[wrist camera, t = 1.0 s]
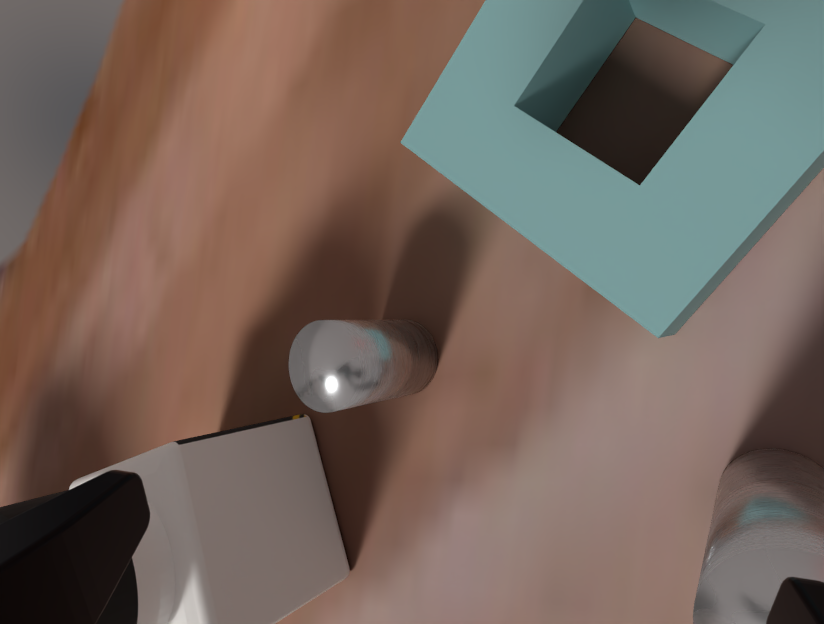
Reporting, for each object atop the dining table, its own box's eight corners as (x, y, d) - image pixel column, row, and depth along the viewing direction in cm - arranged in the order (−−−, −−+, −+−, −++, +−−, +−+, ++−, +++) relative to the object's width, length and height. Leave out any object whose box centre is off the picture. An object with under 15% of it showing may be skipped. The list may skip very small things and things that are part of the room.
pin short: (451, 353, 21) (375, 361, 17) (409, 410, 22) (328, 432, 18) (400, 304, 22) (317, 301, 18) (362, 360, 23) (275, 369, 19)
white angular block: (312, 410, 25) (3, 476, 15) (355, 575, 23) (48, 773, 13) (212, 446, 28) (-94, 520, 18) (244, 591, 27) (-66, 759, 17)
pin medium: (874, 507, 15) (982, 674, 8) (788, 578, 16) (816, 784, 9) (768, 426, 16) (780, 508, 9) (695, 497, 17) (655, 620, 10)
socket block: (949, 26, 14) (1003, -53, 11) (674, 334, 17) (658, 337, 14) (621, -100, 18) (595, -183, 15) (449, 167, 21) (400, 142, 18)
